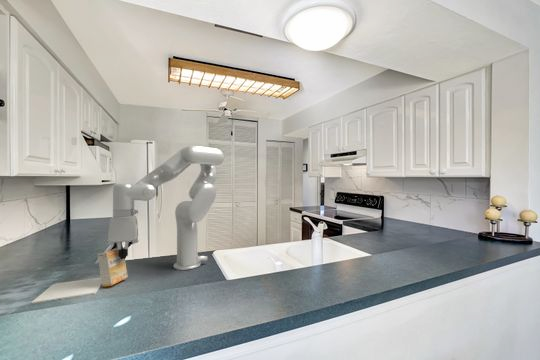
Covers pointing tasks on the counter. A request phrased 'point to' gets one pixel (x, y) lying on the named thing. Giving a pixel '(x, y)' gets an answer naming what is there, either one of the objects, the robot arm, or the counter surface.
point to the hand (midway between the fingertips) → (123, 258)
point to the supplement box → (111, 267)
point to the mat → (69, 290)
